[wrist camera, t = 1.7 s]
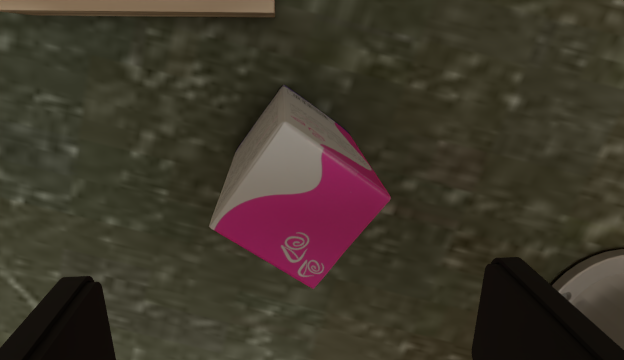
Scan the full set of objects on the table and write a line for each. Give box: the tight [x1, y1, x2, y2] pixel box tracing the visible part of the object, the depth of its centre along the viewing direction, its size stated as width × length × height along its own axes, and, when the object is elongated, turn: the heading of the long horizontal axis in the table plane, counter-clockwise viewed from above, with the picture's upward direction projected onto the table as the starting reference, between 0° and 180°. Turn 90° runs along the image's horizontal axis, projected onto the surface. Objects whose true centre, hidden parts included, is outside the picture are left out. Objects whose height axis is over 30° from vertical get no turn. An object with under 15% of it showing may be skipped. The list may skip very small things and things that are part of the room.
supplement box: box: [209, 85, 391, 289], centre depth 22 cm, size 6×6×12 cm
